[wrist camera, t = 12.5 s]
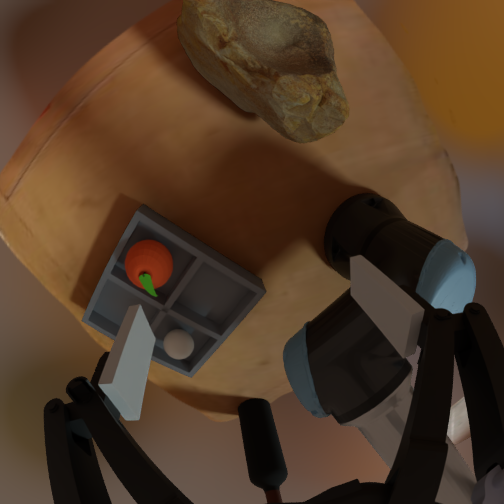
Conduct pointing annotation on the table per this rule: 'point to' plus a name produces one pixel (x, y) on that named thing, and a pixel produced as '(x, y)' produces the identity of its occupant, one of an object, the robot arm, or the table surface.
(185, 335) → the cream egg
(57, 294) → the table surface
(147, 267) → the clementine
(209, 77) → the rough brown rock
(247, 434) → the wine bottle
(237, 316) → the divided tray
